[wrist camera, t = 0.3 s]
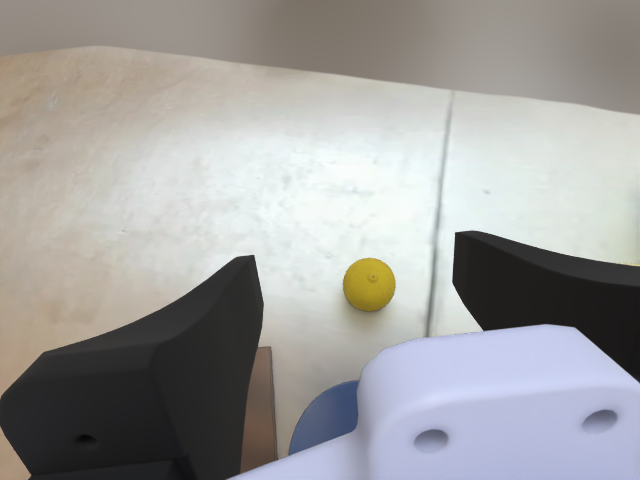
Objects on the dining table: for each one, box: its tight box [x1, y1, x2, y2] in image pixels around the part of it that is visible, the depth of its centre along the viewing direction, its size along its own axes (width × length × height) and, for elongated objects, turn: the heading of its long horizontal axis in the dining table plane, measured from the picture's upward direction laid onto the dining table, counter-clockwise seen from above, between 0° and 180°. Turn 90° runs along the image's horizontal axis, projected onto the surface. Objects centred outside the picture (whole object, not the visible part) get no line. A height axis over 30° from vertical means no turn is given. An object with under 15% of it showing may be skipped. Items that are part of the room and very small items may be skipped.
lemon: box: [343, 258, 395, 311], centre depth 37 cm, size 6×6×8 cm
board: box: [240, 346, 277, 474], centre depth 35 cm, size 20×15×2 cm
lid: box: [289, 381, 359, 456], centre depth 29 cm, size 14×14×4 cm
